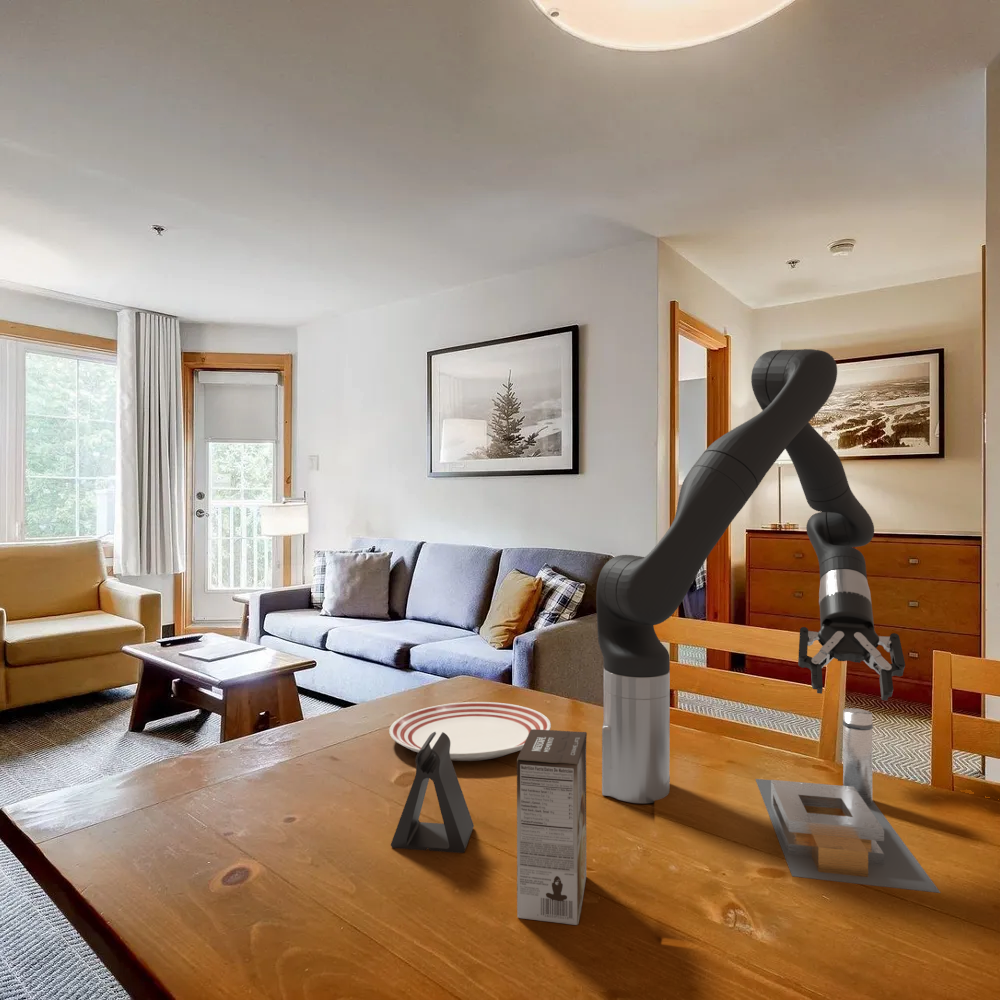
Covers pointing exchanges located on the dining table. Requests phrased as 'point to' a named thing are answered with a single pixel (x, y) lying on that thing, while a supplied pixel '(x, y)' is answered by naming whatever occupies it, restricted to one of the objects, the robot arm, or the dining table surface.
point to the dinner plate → (470, 728)
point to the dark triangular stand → (450, 801)
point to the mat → (894, 872)
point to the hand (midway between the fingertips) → (852, 694)
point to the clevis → (827, 826)
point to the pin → (858, 752)
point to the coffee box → (551, 826)
